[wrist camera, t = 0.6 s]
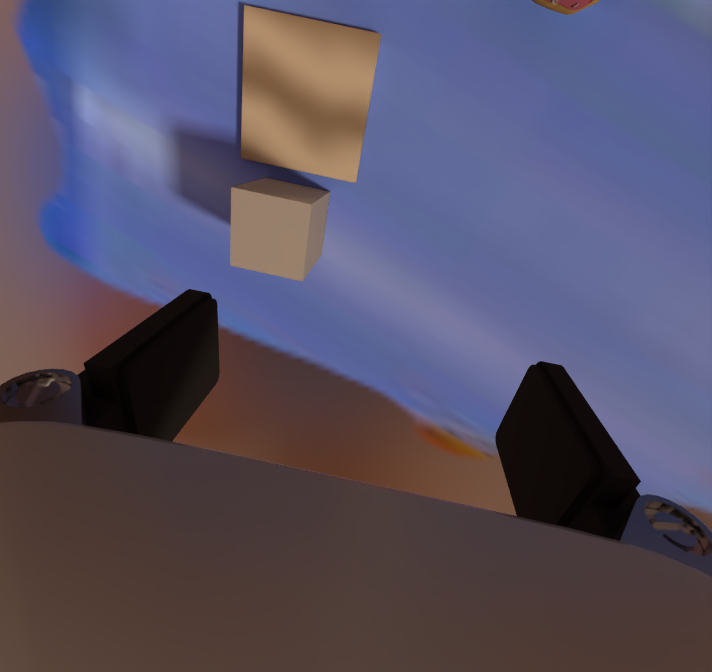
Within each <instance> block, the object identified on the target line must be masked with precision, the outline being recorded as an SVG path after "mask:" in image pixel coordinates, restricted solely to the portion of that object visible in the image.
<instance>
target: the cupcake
mask: <svg viewBox="0 0 712 672" xmlns="http://www.w3.org/2000/svg"><path fill="white" fill-rule="evenodd" d="M532 1H534V2H535V3H537V4H539V5H541V6H543V7H545V8H548V9H550V10H553V11H556V12H559V13H562V14H567V15H568V14H573V13H576V12H578V11H580V10H582V9H584V8H587V7H589V6H591V5H593V4H595V3H597V2H598V1H600V0H532Z"/></svg>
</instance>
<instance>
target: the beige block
mask: <svg viewBox="0 0 712 672" xmlns="http://www.w3.org/2000/svg"><path fill="white" fill-rule="evenodd" d="M329 197H330V191H326V190H321V189H317V188H312V187H307V186H303V185H298V184H294V183H289V182H284V181H280V180H275V179H271V178H262V179H259V180H255V181H251V182H248V183H244V184H241V185H237V186H233V187H231V251H230V265H231V266H236V267H240V268H245V269H249V270H254V271H258V272H263V273H267V274H272V275H276V276H281V277H285V278H290V279H294V280H299V281H303V280H304V279H305V277H306V276H307V274H308V273H309V272H310V270H311V269H312V267H313V266H314V265H315V263H316V262H317V261H318V259H319V258H320V256H321V255H322V247H323V240H324V233H325V226H326V219H327V212H328V205H329Z"/></svg>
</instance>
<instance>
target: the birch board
mask: <svg viewBox="0 0 712 672" xmlns="http://www.w3.org/2000/svg"><path fill="white" fill-rule="evenodd" d="M380 40H381V34H380V33H375V32H370V31H365V30H361V29H356V28H351V27H346V26H342V25H337V24H332V23H327V22H323V21H318V20H313V19H308V18H304V17H299V16H294V15H289V14H285V13H280V12H275V11H270V10H266V9H261V8H256V7H251V6H247V5H244V36H243V81H242V127H241V158H243V159H247V160H252V161H256V162H261V163H266V164H270V165H275V166H280V167H284V168H289V169H293V170H298V171H303V172H307V173H312V174H316V175H321V176H326V177H330V178H335V179H340V180H344V181H349V182H353V183H356V179H357V173H358V168H359V162H360V156H361V150H362V144H363V139H364V133H365V127H366V121H367V115H368V109H369V104H370V98H371V92H372V86H373V80H374V74H375V69H376V63H377V57H378V51H379V45H380Z"/></svg>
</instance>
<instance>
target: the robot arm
mask: <svg viewBox="0 0 712 672" xmlns="http://www.w3.org/2000/svg"><path fill="white" fill-rule="evenodd" d="M84 366H85V370H84V371H82V372H81V373H80V374H78V375H76V374H75V373H73V372H71V371H68V370H64V369H44V370H37V371H33V372H28V373H25V374H22V375H20V376H17V377H14V378H12V379H10V380H8V381H7V382H5V383H3V384H2V385H0V672H712V533H711V531H710V530H709V529H708V528H707V527H706V526H705V525H704V524H703V523H702V522H701V521H700V520H699V519H697V518H696V517H695V516H694V515H693V514H691V513H690V512H689V511H687V510H686V509H684V508H683V507H681V506H679V505H678V504H676V503H674V502H672V501H670V500H668V499H665V498H662V497H660V496H656V495H649V494H647V495H642V496H640V494H639V493H638V491H637V490H636V487H637V486H638V484H639V483H640V482H641V481H640V479H639V478H638V476H637V475H636V474H635V472H634V471H633V469H632V468H631V466H630V465H629V463H628V462H627V460H626V459H625V457H624V456H623V454H622V453H621V451H620V450H619V448H618V447H617V445H616V444H615V443H614V441H613V440H612V438H611V437H610V435H609V434H608V432H607V431H606V429H605V428H604V426H603V425H602V423H601V422H600V420H599V419H598V417H597V416H596V414H595V413H594V412H593V410H592V409H591V407H590V406H589V404H588V403H587V401H586V400H585V398H584V397H583V395H582V394H581V392H580V391H579V389H578V388H577V386H576V385H575V383H574V382H573V380H572V379H571V378H570V376H569V375H568V373H567V372H566V370H565V369H564V367H563V366H561V365H557V364H552V363H547V362H542V361H540V362H538V363H537V364H536V365H531V366H530V367H529V368H528V370H527V372H526V374H525V376H524V378H523V380H522V382H521V384H520V386H519V388H518V390H517V392H516V394H515V396H514V398H513V400H512V402H511V404H510V406H509V408H508V410H507V412H506V414H505V416H504V418H503V420H502V422H501V424H500V426H499V428H498V430H497V433H496V446H497V449H498V452H499V456H500V459H501V463H502V466H503V469H504V473H505V476H506V480H507V483H508V487H509V490H510V494H511V497H512V501H513V504H514V507H515V511H516V514H517V516H514V515H509V514H505V513H500V512H496V511H491V510H487V509H482V508H478V507H473V506H469V505H464V504H460V503H455V502H451V501H446V500H441V499H437V498H433V497H428V496H424V495H419V494H415V493H410V492H406V491H401V490H397V489H392V488H387V487H383V486H378V485H374V484H369V483H364V482H360V481H355V480H351V479H345V478H341V477H336V476H332V475H327V474H323V473H318V472H313V471H309V470H304V469H300V468H295V467H290V466H286V465H281V464H276V463H271V462H266V461H262V460H257V459H252V458H248V457H243V456H238V455H233V454H229V453H223V452H219V451H214V450H209V449H204V448H200V447H195V446H191V445H185V444H181V443H176V442H172V441H173V439H174V438H175V437H176V436H177V434H178V433H179V432H180V430H181V429H182V427H183V426H184V425H185V424H186V423H187V421H188V420H189V419H190V417H191V416H192V415H193V413H194V412H195V411H196V409H197V408H198V407H199V405H200V404H201V403H202V401H203V400H204V399H205V398H206V396H207V395H208V394H209V392H210V391H211V390H212V389H213V387H214V386H215V385H216V383H217V381H218V378H219V372H220V371H219V343H218V313H217V301H216V300H215V299H212V296H211V294H210V293H206V292H202V291H197V290H192V289H189V290H187V291H185V292H184V293H182V294H181V295H180V296H178V297H177V298H175V299H174V300H173V301H171V302H170V303H168V304H167V305H165V306H164V307H163V308H161V309H160V310H158V311H157V312H156V313H154V314H153V315H151V316H150V317H148V318H147V319H146V320H144V321H143V322H141V323H140V324H139V325H137V326H136V327H134V328H133V329H132V330H130V331H129V332H127V333H126V334H125V335H123V336H122V337H120V338H119V339H117V340H116V341H115V342H113V343H112V344H110V345H109V346H107V347H106V348H105V349H103V350H102V351H100V352H99V353H98V354H96V355H95V356H93V357H92V358H90V359H89V360H88V361H86V362H85V363H84Z"/></svg>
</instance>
